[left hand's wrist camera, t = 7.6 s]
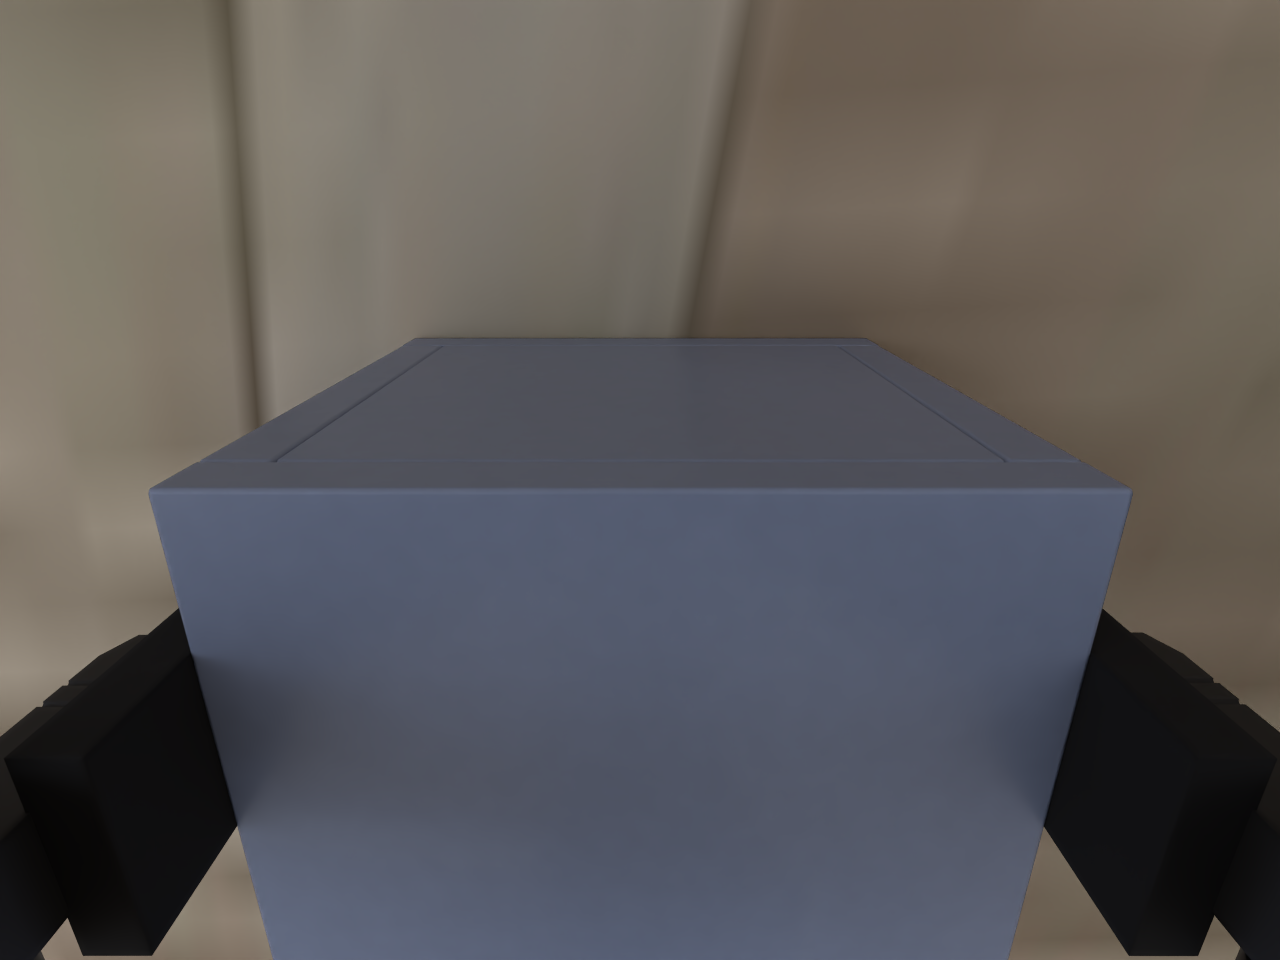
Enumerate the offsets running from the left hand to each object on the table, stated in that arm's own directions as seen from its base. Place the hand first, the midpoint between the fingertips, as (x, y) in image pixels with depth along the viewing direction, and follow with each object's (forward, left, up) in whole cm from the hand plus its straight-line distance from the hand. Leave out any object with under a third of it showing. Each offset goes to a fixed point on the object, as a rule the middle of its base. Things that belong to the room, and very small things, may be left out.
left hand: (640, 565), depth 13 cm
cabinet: (+1, +4, -5) cm, 7 cm away
